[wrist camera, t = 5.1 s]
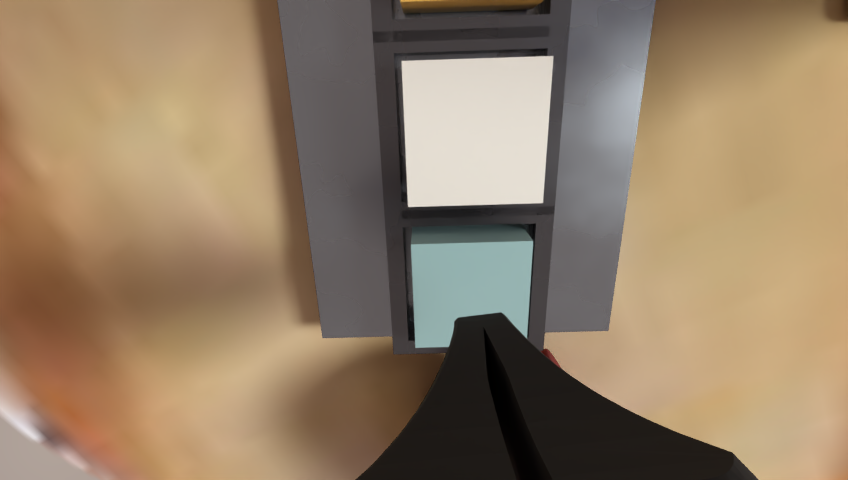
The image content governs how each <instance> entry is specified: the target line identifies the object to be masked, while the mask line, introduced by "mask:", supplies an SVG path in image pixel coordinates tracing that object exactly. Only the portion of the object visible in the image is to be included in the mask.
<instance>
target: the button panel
mask: <svg viewBox="0 0 848 480" xmlns="http://www.w3.org/2000/svg"><path fill="white" fill-rule="evenodd" d="M277 2H278V9H279V17H280V24H281V31H282V39H283V46H284V54H285V61H286V69H287V76H288V84H289V91H290V99H291V106H292V114H293V121H294V128H295V136H296V143H297V151H298V158H299V166H300V173H301V181H302V188H303V196H304V203H305V211H306V218H307V225H308V233H309V240H310V248H311V255H312V263H313V270H314V278H315V285H316V293H317V300H318V308H319V315H320V322H321V330H322V337H323V338H345V337H384V336H392V338H393V353H394V354H426V353H447V350H448V348H449V347H427V348H415V327H414V304H413V281H412V258H411V237H412V227H428V226H463V225H499V224H522V226H523V227H524V228H525V230H526V231H527V233H528V234H529V236H530V237H531V238H532V240H533V253H532V268H531V283H530V298H529V314H528V329H527V339H528V340H529V341H530V342H531V343H532V344H533V345H534V346H535V347H536V348H538V349H539V350H540V351H543V346H544V334H545V332H579V331H608V329H609V322H610V315H611V308H612V301H613V294H614V287H615V281H616V274H617V267H618V260H619V253H620V246H621V239H622V232H623V225H624V218H625V211H626V204H627V197H628V190H629V183H630V176H631V169H632V162H633V155H634V148H635V141H636V134H637V127H638V120H639V114H640V107H641V100H642V93H643V86H644V79H645V72H646V65H647V58H648V51H649V44H650V37H651V30H652V23H653V16H654V9H655V2H656V0H544V1H543V2H541V3H540V4H538V5H537V6H535V7H534V8H532V9H525V10H496V11H466V12H437V13H407V14H404V13H403V10H402V6H401V3H400V0H277ZM536 56H553V70H552V84H551V98H550V112H549V126H548V140H547V154H546V168H545V182H544V196H543V203H531V204H496V205H462V206H427V207H408V195H407V173H406V151H405V128H404V106H403V84H402V62H401V61H414V60H444V59H475V58H506V57H536Z"/></svg>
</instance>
